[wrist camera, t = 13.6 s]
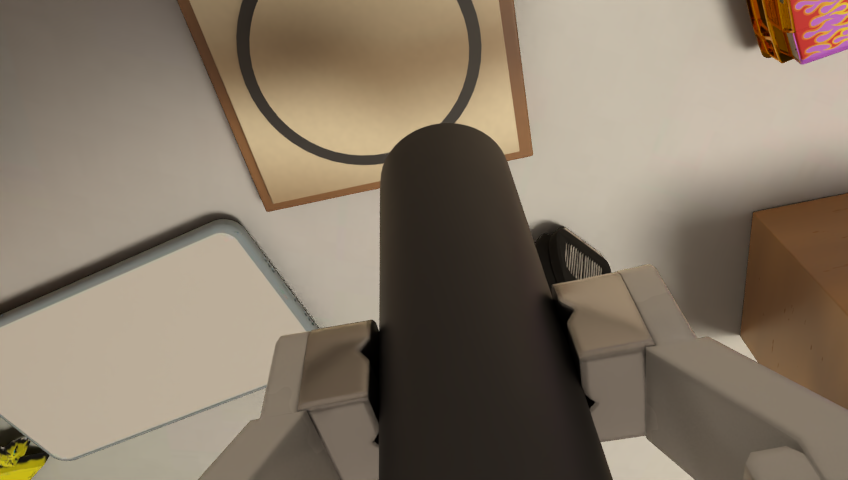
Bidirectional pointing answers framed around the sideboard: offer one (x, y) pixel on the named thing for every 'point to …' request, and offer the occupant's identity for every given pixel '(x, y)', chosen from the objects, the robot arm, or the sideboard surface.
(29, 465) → the toy
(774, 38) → the toy car
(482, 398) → the marker
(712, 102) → the sideboard surface
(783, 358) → the brown block
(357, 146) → the ringed wooden coaster
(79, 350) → the smartphone
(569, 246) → the electric trimmer
